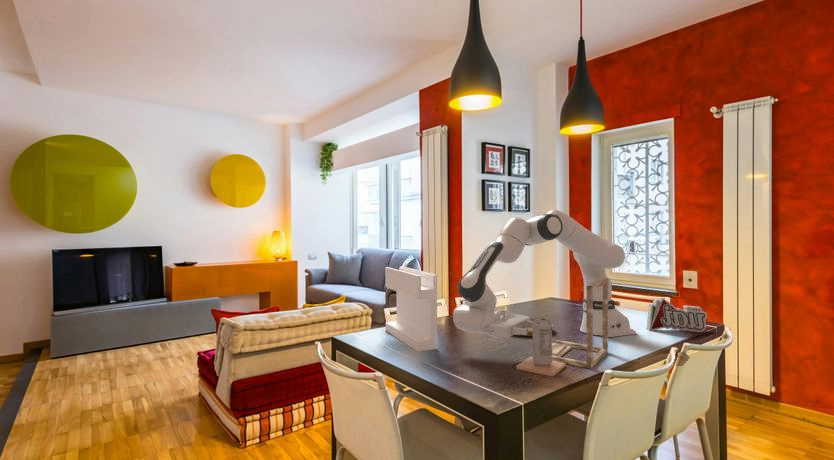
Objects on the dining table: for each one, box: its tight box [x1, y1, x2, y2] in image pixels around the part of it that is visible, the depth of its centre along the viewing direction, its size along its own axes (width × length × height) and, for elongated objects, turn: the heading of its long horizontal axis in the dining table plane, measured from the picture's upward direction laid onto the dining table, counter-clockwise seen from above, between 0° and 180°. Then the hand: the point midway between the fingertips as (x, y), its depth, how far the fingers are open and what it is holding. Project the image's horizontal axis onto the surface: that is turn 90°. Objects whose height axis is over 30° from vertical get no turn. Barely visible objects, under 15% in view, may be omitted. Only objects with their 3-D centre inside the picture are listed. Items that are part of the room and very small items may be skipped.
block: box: [384, 265, 438, 352], centre depth 179 cm, size 35×8×28 cm, turn 24°
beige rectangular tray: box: [552, 342, 572, 357], centre depth 160 cm, size 7×15×2 cm, turn 143°
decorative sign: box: [646, 296, 708, 333], centre depth 191 cm, size 23×3×15 cm, turn 84°
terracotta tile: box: [515, 356, 567, 377], centre depth 143 cm, size 12×12×1 cm
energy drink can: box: [532, 316, 553, 367], centre depth 143 cm, size 6×6×15 cm
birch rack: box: [552, 278, 609, 369], centre depth 156 cm, size 19×22×27 cm
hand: (533, 329), depth 144 cm, fingers open, 8 cm apart
